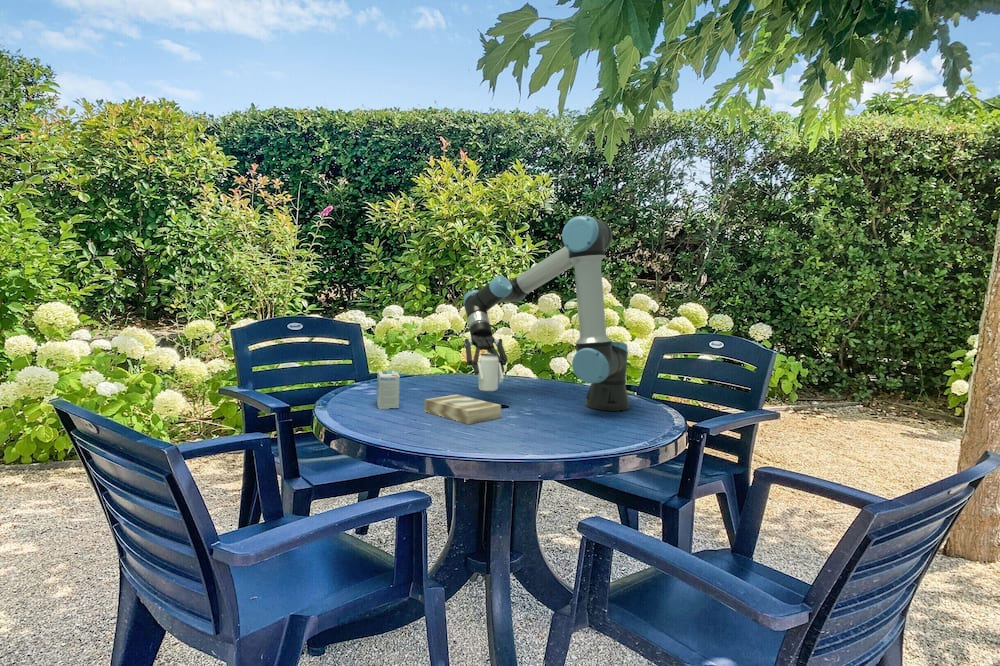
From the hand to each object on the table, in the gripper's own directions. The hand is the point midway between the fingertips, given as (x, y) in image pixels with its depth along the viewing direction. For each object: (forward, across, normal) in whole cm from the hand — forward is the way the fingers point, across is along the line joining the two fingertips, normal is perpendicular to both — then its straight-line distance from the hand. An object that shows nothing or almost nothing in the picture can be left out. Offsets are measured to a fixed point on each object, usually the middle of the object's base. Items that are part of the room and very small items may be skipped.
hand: (491, 380), depth 201 cm
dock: (+12, +12, -1) cm, 17 cm away
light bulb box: (+1, +33, -12) cm, 35 cm away
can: (0, 0, -5) cm, 5 cm away
